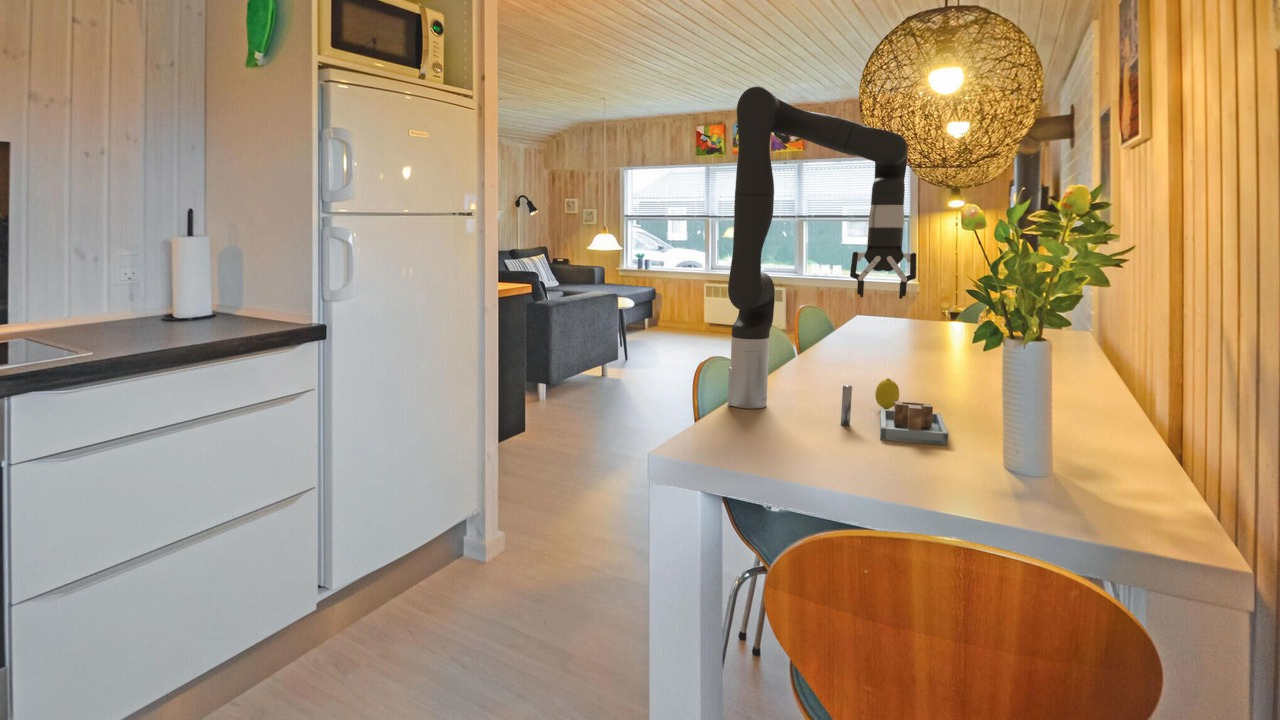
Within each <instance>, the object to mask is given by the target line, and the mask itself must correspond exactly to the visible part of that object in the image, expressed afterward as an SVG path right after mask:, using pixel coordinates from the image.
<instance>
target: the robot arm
mask: <svg viewBox="0 0 1280 720" xmlns="http://www.w3.org/2000/svg"><path fill="white" fill-rule="evenodd" d="M736 122H737V123H736V124H737V137H738V138H737V140H738V141H737V142H738V145H737V146H738V152H737V153H738V154H737V162H736V164H737V165H736V173H735V174H736V175H735V187H734V207H733V211H734V212H733V214H734V217H733V218H734V219H733V237H732V239H733V240H732V243H733V245H732V254H731V255H732V256H731V262H730V263H731V265H730V271H729V276H728V283H727V284H728V286H727V294H728V298H729V301H730V303H731V304H732V306H733V307H735V308H736V309H737V310H738V316H737V317H736V320H735V322H733V324H732V325H731V340H730V341H731V342H730V343H731V345H730V346H731V347H730V348H731V349H730V366H729V368H728V381H727V382H728V383H727V406H731V407H735V408H740V409H749V410H750V409H763V408H765V407H767V404H768V403H767V402H768V379H769V376H768V375H769V356H770V353H769V352H770V333H771V328H772V326H773V322H774V313H775V312H774V311H775V301H776V300H775V299H776V298H775V296H776V293H775V292H776V291H775V288H776V287H775V283H774V281H773V279H772V277H771V276H770V275H769V274H768V273H766V272H764V271H761V270H762V253H763V248H764V247H763V246H764V244H765V242H766V237H767V236H768V233H769V231H770V227H771V224H772V222H773V216H774V205H775V204H774V202H775V201H774V200H775V183H774V173H773V167H772V160H771V152H770V151H771V150H770V149H771V148H770V147H771V136H772V133H775V134H781V135H786V136H789V137H790V136H791V137H795V138H798V139H802V140H804V141H806V142H810V143H813V144H816V145H818V146H821V147H823V148H826V149H829V150H832V151H835V152H838V153H841V154H845V155H848V156H857V157H861V158H863V159H866V160H869V161H872V162H875V163H874V180H873V182H872V183H873V184H872V187H871V199H870V210H869V213H868V214H869V215H868V223H867V224H868V227H867V228H868V229H867V242H866V243H867V244H866V245H867V246H866V251H865V252H859V251H854V252H852V254H851V255H852V257H851V265H850V273H849V276H850V278H852V279H855V280H856V281H857V289H856V290H857V291H856V293H857V295H858V296H859V298H864V292H865V291H864V290H865V278H866V277H867V276H868V274H869V273H871V271H872V270H873V271H875V272H881V271H884V272H892V271H893V270H894V272H895V273H896V274H897V276H898V278H899V279H900V282H899V289H898V290H899V292H898V293H899V294H898V299H900V300H903V297H905V296H906V295H907V283H908V282H909V281H912V280H915V279H916V278H917V253H915V252H913V251H912V252H909V253H908V252H907V253H905V252H903V237H904V225H905V209H904V205H905V191H906V190H905V177H906V172H907V164H908V157H909V156H908V155H909V153H908V152H909V148H908V144H907V141H906V139H905V137H904V136H902V135H901V134H899V133H897V132H893V131H889V130H886V129H880V128H875V127H871V126H867V125H864V124H861V123H859V122H855V121H853V120H849V119H845V118H842V117H840V116H839V117H838V116H834V115H829V114H826V113H820V112H819V113H818V112H813V111H810V110H809V111H808V110H805V109H802V108H800V107H795V106H794V105H792V104H789V103H787V102H785V101H783V100H782V99H779V98H778V97H777V96H776V95H775V94H774V93H772V91H770V90H768V89H767V88H765V87H763V86H759V85H758V86H757V85H756V86H751V87H749V88H748V89H747V88H746V90H745V91H744V92H742V94H741V95H740V97H739V99H738V101H737V105H736ZM863 258H864V259H865V260H866V262H867V263H868V264H867V266H866V267H865V268H864V269H863V270H862V271H861V273H857V269H858V268H857V267H858V262H861V260H862V259H863ZM904 258H905V259H906V261H905V262H907V263H909V274H907V275H906V274H905V273H904V272H903V270H902V269H901V268H900V266H899V264H900V263H901V262H902V261H903V259H904Z"/></svg>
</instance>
